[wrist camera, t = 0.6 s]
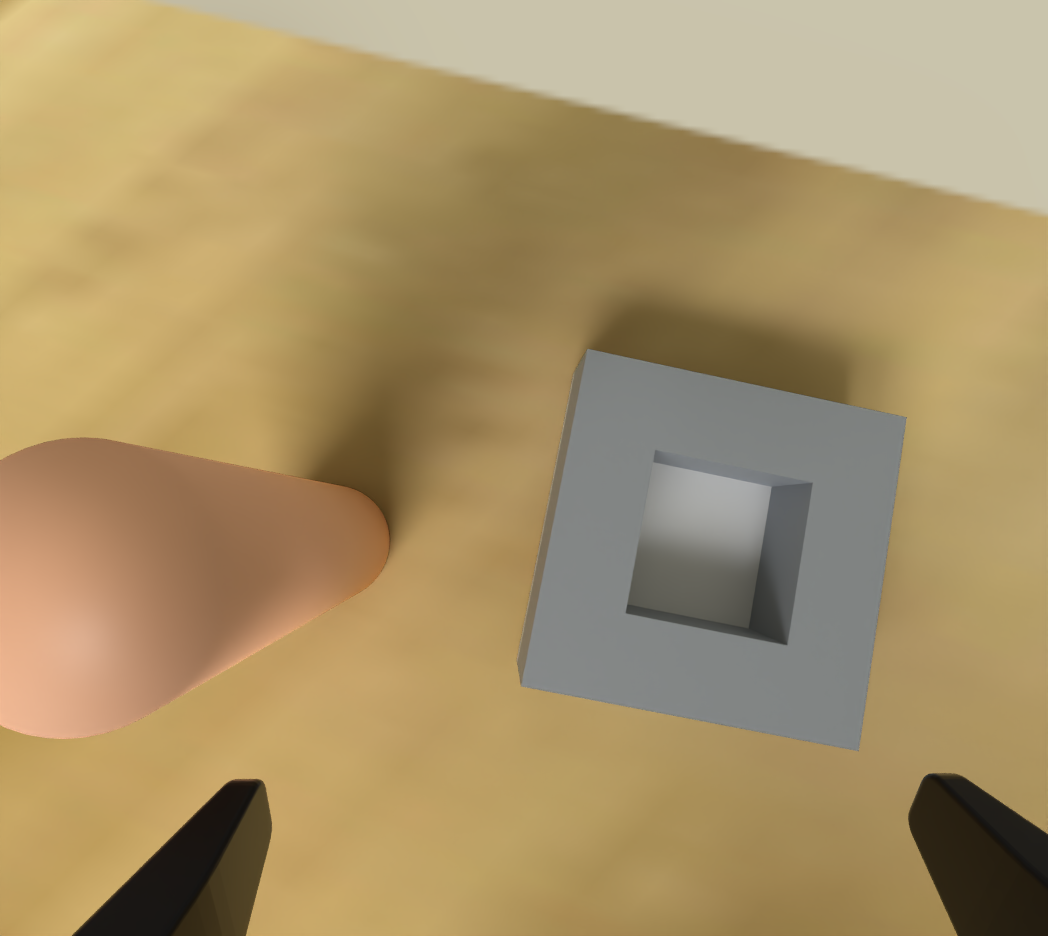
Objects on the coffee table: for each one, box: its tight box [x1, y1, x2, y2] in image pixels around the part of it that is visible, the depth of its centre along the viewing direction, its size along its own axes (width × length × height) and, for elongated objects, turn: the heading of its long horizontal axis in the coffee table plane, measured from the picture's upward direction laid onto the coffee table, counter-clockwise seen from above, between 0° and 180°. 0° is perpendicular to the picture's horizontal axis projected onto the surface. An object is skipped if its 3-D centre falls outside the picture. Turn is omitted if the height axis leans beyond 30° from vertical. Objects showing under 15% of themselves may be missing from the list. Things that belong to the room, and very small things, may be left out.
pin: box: [0, 438, 390, 739], centre depth 16 cm, size 4×4×14 cm
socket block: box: [517, 349, 907, 751], centre depth 22 cm, size 12×12×4 cm
